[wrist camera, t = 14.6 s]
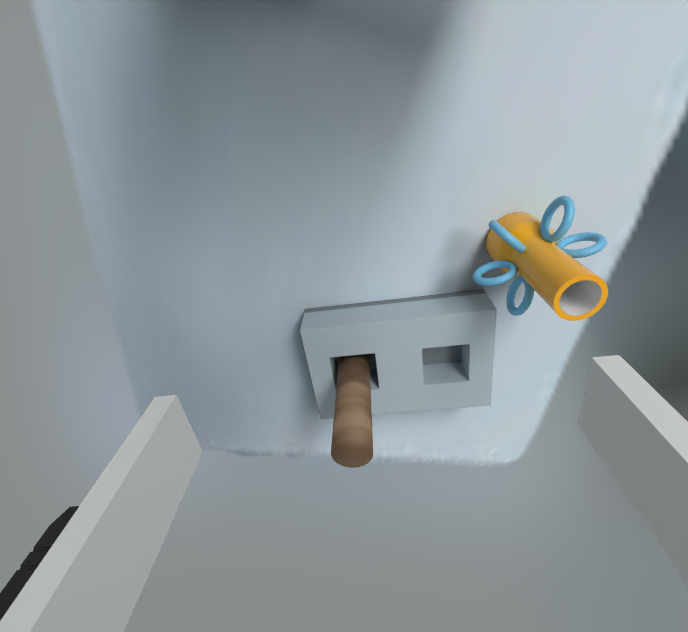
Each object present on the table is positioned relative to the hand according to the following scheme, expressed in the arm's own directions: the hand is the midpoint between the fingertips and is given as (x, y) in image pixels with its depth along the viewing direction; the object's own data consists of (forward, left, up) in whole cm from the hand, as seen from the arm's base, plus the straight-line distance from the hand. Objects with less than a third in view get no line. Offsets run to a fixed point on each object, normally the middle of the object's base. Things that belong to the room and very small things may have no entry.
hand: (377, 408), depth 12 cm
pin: (+20, -4, -32) cm, 38 cm away
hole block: (+20, +2, -33) cm, 38 cm away
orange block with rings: (+7, +16, -33) cm, 37 cm away
